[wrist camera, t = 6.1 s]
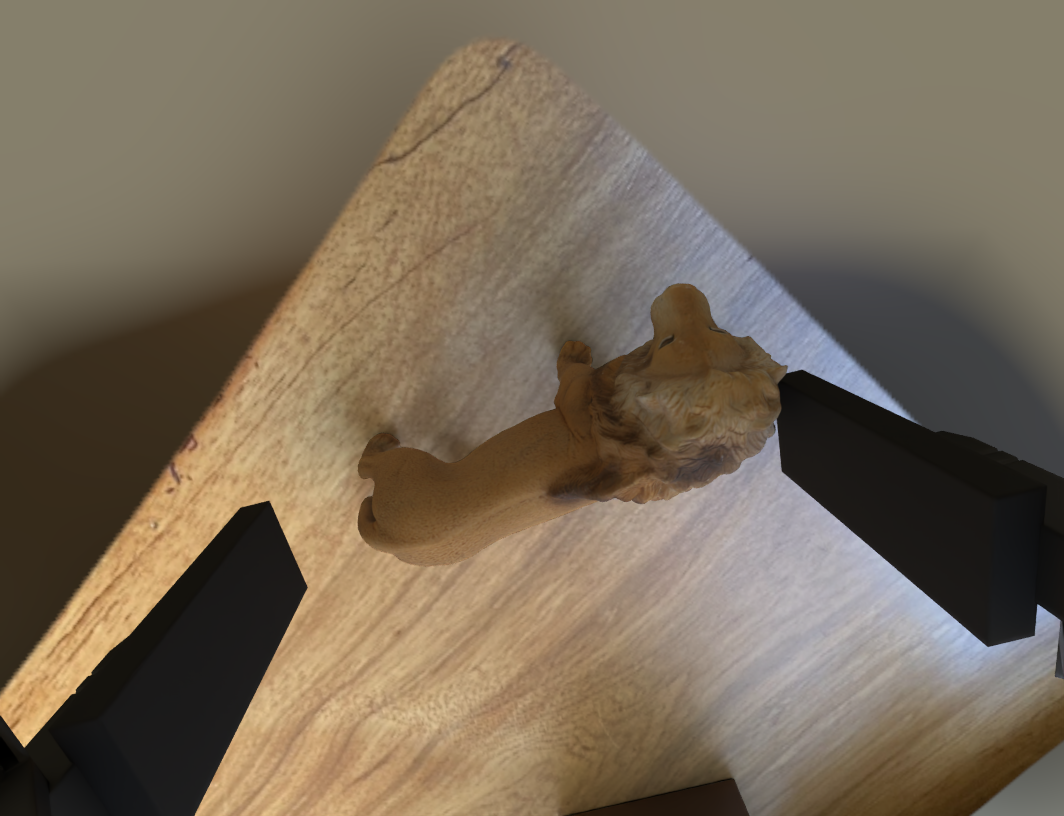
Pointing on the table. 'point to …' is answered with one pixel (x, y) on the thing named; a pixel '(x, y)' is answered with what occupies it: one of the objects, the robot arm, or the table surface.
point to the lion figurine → (585, 441)
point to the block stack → (684, 803)
